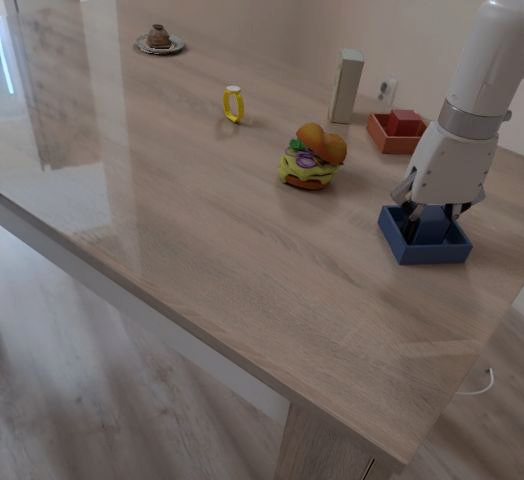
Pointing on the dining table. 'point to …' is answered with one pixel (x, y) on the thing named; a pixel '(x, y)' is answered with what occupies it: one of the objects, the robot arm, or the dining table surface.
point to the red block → (402, 123)
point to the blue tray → (449, 251)
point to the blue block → (431, 226)
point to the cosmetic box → (345, 85)
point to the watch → (240, 105)
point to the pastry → (160, 40)
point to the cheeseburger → (312, 157)
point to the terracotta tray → (392, 143)
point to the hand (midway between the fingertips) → (421, 236)
